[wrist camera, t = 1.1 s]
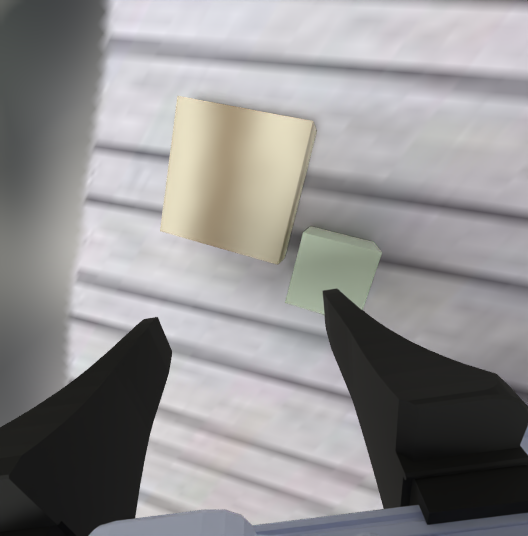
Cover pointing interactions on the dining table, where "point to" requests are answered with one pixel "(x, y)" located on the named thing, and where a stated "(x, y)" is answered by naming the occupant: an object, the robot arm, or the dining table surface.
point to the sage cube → (332, 268)
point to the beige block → (235, 177)
